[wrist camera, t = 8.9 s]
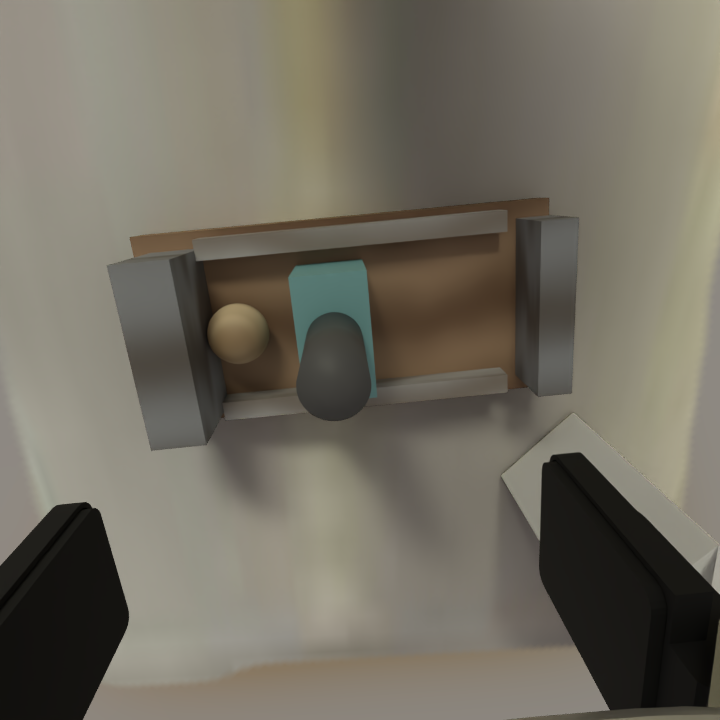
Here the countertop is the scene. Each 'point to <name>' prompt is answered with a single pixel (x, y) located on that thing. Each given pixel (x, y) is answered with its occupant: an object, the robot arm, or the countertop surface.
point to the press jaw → (333, 338)
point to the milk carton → (576, 436)
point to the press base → (386, 299)
